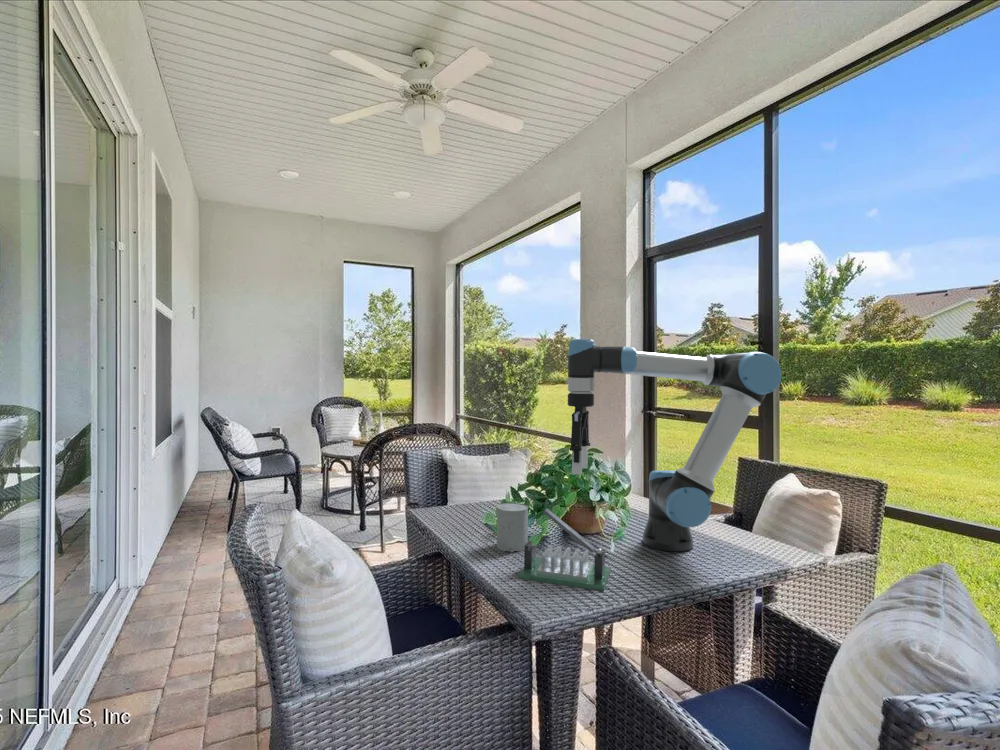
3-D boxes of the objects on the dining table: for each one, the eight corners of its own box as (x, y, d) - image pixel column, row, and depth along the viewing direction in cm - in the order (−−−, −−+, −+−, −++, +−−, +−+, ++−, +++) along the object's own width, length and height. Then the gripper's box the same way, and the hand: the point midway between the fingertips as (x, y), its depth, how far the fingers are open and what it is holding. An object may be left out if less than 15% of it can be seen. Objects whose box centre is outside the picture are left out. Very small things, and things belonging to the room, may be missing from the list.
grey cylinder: (504, 539, 166) (505, 501, 166) (532, 544, 162) (532, 505, 162) (491, 549, 157) (491, 508, 157) (520, 554, 153) (520, 512, 153)
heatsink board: (610, 571, 140) (610, 545, 140) (603, 591, 128) (604, 562, 128) (532, 561, 148) (532, 535, 148) (518, 578, 135) (518, 550, 135)
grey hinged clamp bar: (599, 554, 137) (603, 548, 136) (597, 558, 134) (602, 553, 133) (545, 509, 141) (549, 504, 141) (542, 513, 138) (546, 507, 138)
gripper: (574, 391, 161) (574, 463, 162) (560, 393, 142) (559, 476, 142) (599, 391, 159) (598, 465, 159) (587, 394, 139) (586, 479, 139)
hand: (579, 470), depth 151 cm, fingers open, 8 cm apart
